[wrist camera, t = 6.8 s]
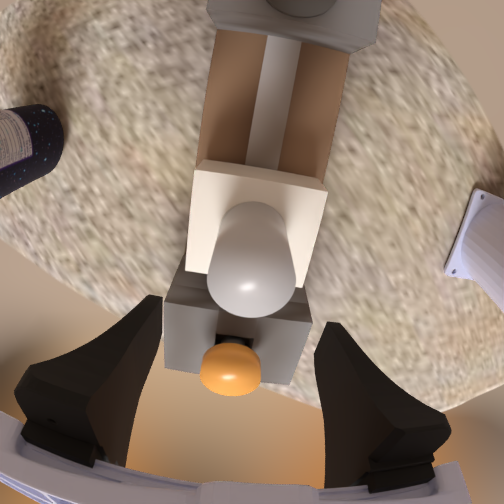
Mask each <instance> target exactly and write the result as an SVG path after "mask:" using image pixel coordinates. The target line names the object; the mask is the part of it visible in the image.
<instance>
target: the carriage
mask: <svg viewBox="0 0 504 504" xmlns="http://www.w3.org/2000/svg"><path fill="white" fill-rule="evenodd" d="M327 195H328V191H327V190H326V188H325V187H324V186H323V184H322V183H321V182H320V181H319V179H318V178H314V177H309V176H304V175H298V174H293V173H288V172H282V171H277V170H271V169H265V168H259V167H253V166H247V165H241V164H234V163H227V162H220V161H213V160H206V159H203V161H202V162H201V163H200V164H199V165H198V166H197V167H196V169H195V170H194V179H193V188H192V197H191V207H190V217H189V228H188V240H187V252H186V265H185V271H191V272H197V273H204V274H207V286H208V289H209V292H210V294H211V296H212V298H213V299H214V301H215V302H216V303H217V304H218V305H219V306H220V307H221V308H223V309H224V310H226V311H227V312H229V313H232V314H234V315H237V316H241V317H248V318H256V317H263V316H267V315H270V314H272V313H274V312H276V311H278V310H279V309H281V308H282V307H283V306H285V304H286V303H287V302H288V301H289V300H290V298H291V297H292V295H293V293H294V290H295V287H299V288H302V287H303V284H304V280H305V277H306V273H307V270H308V266H309V263H310V259H311V256H312V252H313V248H314V245H315V241H316V237H317V234H318V230H319V226H320V222H321V218H322V214H323V211H324V207H325V203H326V199H327Z"/></svg>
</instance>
